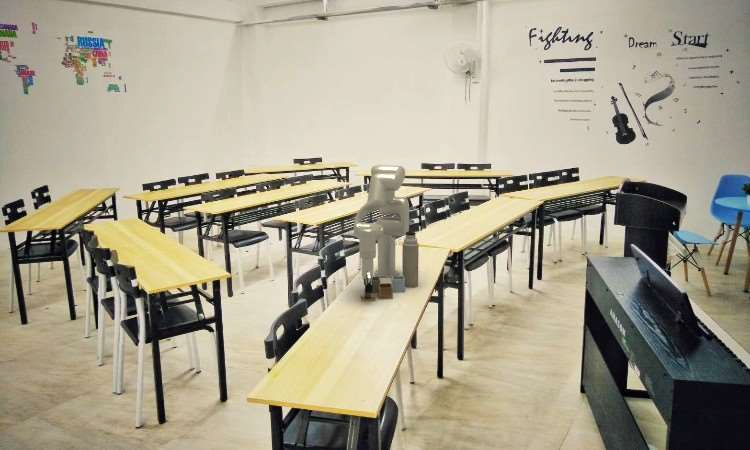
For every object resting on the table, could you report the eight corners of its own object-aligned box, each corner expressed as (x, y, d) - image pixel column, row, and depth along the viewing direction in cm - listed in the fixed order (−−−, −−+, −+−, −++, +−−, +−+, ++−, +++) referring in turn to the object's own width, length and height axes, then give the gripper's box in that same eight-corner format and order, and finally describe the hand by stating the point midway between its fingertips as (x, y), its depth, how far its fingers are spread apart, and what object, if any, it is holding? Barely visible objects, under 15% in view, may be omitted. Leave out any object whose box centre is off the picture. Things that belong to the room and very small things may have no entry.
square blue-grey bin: (391, 289, 268) (391, 276, 266) (403, 289, 268) (403, 275, 267) (392, 293, 262) (392, 279, 260) (404, 293, 262) (405, 279, 261)
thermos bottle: (418, 284, 275) (419, 230, 269) (416, 289, 268) (417, 234, 261) (403, 283, 277) (403, 230, 271) (401, 288, 269) (401, 233, 263)
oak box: (378, 295, 260) (378, 283, 258) (391, 295, 260) (391, 283, 259) (379, 300, 253) (379, 288, 252) (392, 299, 254) (392, 287, 252)
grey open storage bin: (367, 290, 267) (367, 276, 265) (379, 289, 267) (379, 276, 266) (367, 294, 261) (367, 280, 259) (380, 294, 261) (380, 280, 260)
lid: (360, 297, 257) (359, 285, 256) (374, 297, 258) (374, 285, 257) (360, 303, 251) (360, 290, 249) (375, 302, 251) (375, 290, 250)
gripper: (358, 248, 257) (359, 282, 262) (360, 259, 241) (361, 295, 245) (374, 248, 258) (374, 282, 262) (377, 259, 241) (377, 295, 245)
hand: (368, 288), depth 253 cm, fingers open, 9 cm apart
